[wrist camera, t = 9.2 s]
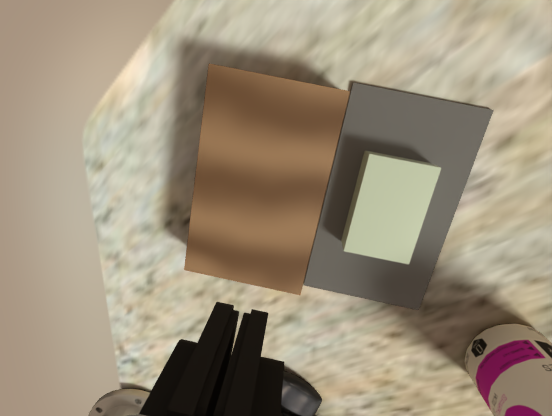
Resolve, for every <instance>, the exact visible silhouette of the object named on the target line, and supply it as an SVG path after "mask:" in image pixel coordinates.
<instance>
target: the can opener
mask: <svg viewBox="0 0 552 416" xmlns="http://www.w3.org/2000/svg"><path fill="white" fill-rule="evenodd" d="M321 402H322V398H321V397H320V395H319V394H318V393H317V391H316V390H315V389H314V388H313V387H312V386H311V385H309V384H308V383H307V382H305V381H304V380H302V379H301V378H299V377H297V376H295V375H293V374H290V373H288V372H284V375H283V388H282V401H281V414H280V416H314V414H315V413H316V411H317V409H318V408H319V406H320V404H321Z"/></svg>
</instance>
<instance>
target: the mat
mask: <svg viewBox="0 0 552 416" xmlns="http://www.w3.org/2000/svg"><path fill="white" fill-rule="evenodd" d="M492 113H493V110H490V109H485V108H480V107H475V106H470V105H465V104H460V103H455V102H450V101H445V100H440V99H435V98H429V97H424V96H419V95H414V94H409V93H404V92H399V91H394V90H389V89H384V88H379V87H374V86H369V85H364V84H359V83H354V82H353V85H352V89H351V93H350V97H349V101H348V105H347V109H346V113H345V117H344V121H343V125H342V129H341V134H340V138H339V142H338V146H337V150H336V154H335V158H334V162H333V166H332V170H331V174H330V178H329V182H328V187H327V191H326V195H325V199H324V203H323V207H322V211H321V215H320V219H319V223H318V227H317V231H316V235H315V240H314V244H313V248H312V252H311V256H310V260H309V264H308V268H307V272H306V276H305V280H304V285H305V286H309V287H314V288H319V289H323V290H328V291H333V292H337V293H342V294H346V295H351V296H356V297H360V298H365V299H369V300H374V301H379V302H383V303H388V304H393V305H397V306H402V307H406V308H411V309H416V310H419V308H420V305H421V302H422V300H423V297H424V294H425V292H426V289H427V286H428V284H429V281H430V278H431V276H432V273H433V270H434V268H435V265H436V262H437V260H438V257H439V254H440V252H441V249H442V246H443V244H444V241H445V238H446V236H447V233H448V230H449V228H450V225H451V222H452V220H453V217H454V214H455V212H456V209H457V206H458V204H459V201H460V198H461V196H462V193H463V190H464V188H465V185H466V182H467V180H468V177H469V174H470V172H471V169H472V166H473V164H474V161H475V158H476V156H477V153H478V150H479V148H480V145H481V142H482V140H483V137H484V134H485V132H486V129H487V126H488V124H489V121H490V118H491V116H492ZM365 151H370V152H376V153H381V154H386V155H391V156H396V157H401V158H407V159H412V160H417V161H422V162H427V163H432V164H434V165H436V166H438V167H441V171H440V174H439V177H438V180H437V183H436V186H435V189H434V191H433V194H432V197H431V200H430V203H429V206H428V209H427V212H426V215H425V218H424V221H423V224H422V227H421V230H420V233H419V236H418V239H417V242H416V245H415V248H414V251H413V254H412V257H411V260H410V263H409V264H404V263H399V262H394V261H389V260H385V259H380V258H375V257H370V256H365V255H360V254H355V253H350V252H345V251H344V250H343V247H342V243H341V240H342V236H343V232H344V228H345V224H346V220H347V217H348V213H349V209H350V205H351V201H352V197H353V194H354V190H355V186H356V182H357V178H358V174H359V171H360V167H361V163H362V159H363V155H364V152H365Z"/></svg>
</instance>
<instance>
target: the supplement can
mask: <svg viewBox="0 0 552 416" xmlns="http://www.w3.org/2000/svg"><path fill="white" fill-rule="evenodd" d="M464 361H465V365H466V369H467V372H468V374H469V376H470V377H471V379H472V380H473V382H474V384H475V385H476V387H477V389H478V390H479V392H480V394H481V395H482V397H483V399H484V400H485V402H486V403H487V405H488V407H489V408H490V410H491V412H492V413H493V415H494V416H552V343H551V342H550V341H549V340H548V339H547V338H546V337H545V336H544V335H543V334H541V333H540V332H538V331H536V330H535V329H533V328H532V327H529V326H525V325H520V324H503V325H497V326H494V327H491V328H488V329H486V330H484V331H483V332H481V333H480V334H479V335H477V336H476V337H475V338H474V340H473V341H472V342H471V344H470V345H469V347H468V348H467V351H466V356H465V360H464Z"/></svg>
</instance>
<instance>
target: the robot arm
mask: <svg viewBox="0 0 552 416" xmlns="http://www.w3.org/2000/svg"><path fill="white" fill-rule="evenodd" d="M233 308H234V305H230V304H225V303H220V302H216V304H215V306H214V309H213V311H212V313H211V315H210V317H209V319H208V322H207V324H206V326H205V328H204V330H203V332H202V334H201V337H200V339H199V341H198V343H196V342H192V341H187V340H183V339H181V340H179V342H178V343H177V345H176V347H175V349H174V351H173V352H172V354H171V356H170V358H169V360H168V361H167V363H166V365H165V367H164V369H163V371H162V372H161V374H160V376H159V378H158V380H157V381H156V383H155V385H154V387H153V389H152V391H151V392H146V391H142V390H137V389H120V390H115V391H112V392H110V393H107V394H105V395H104V396H103V397H101V398H100V399H99V400H98V401H97V402H96V404H95V405H94V406H93V408H92V410H91V411H90V413H89V416H280V414H281V401H282V388H283V375H284V362H282V361H278V360H273V359H269V358H264V357H261V351H262V346H263V340H264V335H265V329H266V323H267V318H268V313H266V312H262V311H257V310H253V309H252V311H251V314H249V313H244V315H243V318H242V321H241V325H240V328H239V331H238V335H237V338H236V341H235V345H234V348H233V343H234V337H235V332H236V327H237V321H238V316H239V311H235V310H233ZM232 348H233V351H232ZM231 354H232V355H231Z"/></svg>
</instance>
